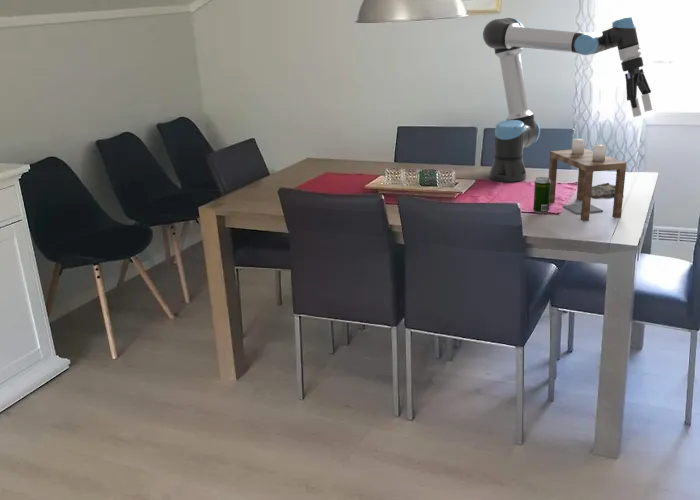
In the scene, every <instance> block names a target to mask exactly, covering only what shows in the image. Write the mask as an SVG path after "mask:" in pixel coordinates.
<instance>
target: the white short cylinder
mask: <svg viewBox="0 0 700 500" xmlns="http://www.w3.org/2000/svg"><path fill="white" fill-rule="evenodd" d="M585 142H586V139H585V138H580V137H579V138H573V139H572V149H571V150H572V154H576V155H581V154H584V148H585Z"/></svg>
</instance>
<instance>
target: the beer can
mask: <svg viewBox="0 0 700 500" xmlns="http://www.w3.org/2000/svg"><path fill="white" fill-rule="evenodd" d="M550 187H551V181H550V178H549V177H548V176H544V177H543V176H538V177H536V178H535V180H534V191H533V208H532V210H533V211H534V213H535V214H541V215H542V214H548V213H549V210H550V203H549V202H550Z"/></svg>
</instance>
